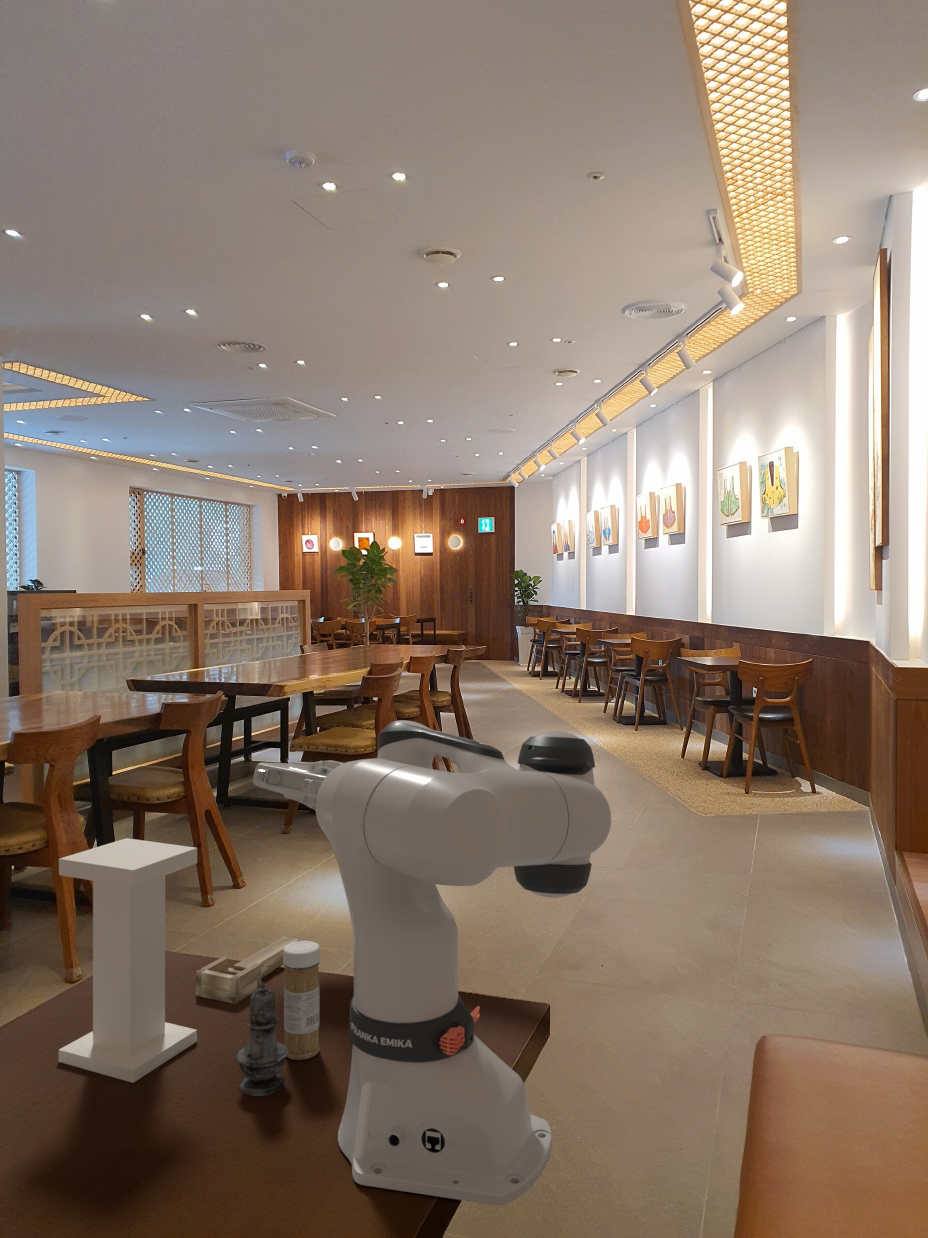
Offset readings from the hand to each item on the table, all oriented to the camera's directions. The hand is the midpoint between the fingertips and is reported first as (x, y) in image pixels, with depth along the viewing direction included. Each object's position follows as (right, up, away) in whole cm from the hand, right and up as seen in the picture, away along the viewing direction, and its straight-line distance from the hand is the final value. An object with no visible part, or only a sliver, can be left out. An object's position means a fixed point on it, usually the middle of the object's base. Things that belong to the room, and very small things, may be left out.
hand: (282, 780), depth 136 cm
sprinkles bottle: (+8, -30, -26) cm, 40 cm away
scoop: (-4, -30, -2) cm, 30 cm away
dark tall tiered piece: (+4, -30, -33) cm, 45 cm away
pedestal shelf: (-14, -30, -25) cm, 41 cm away
